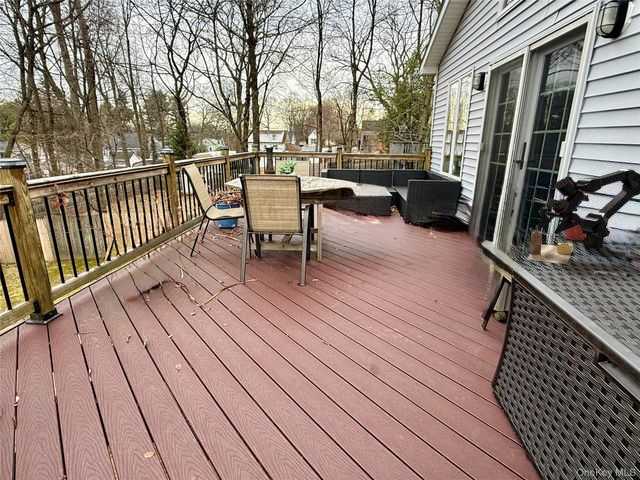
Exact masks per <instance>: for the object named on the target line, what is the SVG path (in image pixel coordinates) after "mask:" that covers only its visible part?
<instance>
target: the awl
mask: <svg viewBox="0 0 640 480" xmlns="http://www.w3.org/2000/svg"><path fill="white" fill-rule="evenodd" d="M538 225H539V224H538ZM538 225H535V230H534V231H532V232H531V234H530V235H531V236H530V254H533V255H540V254H541V245H542V241H543V240H542V239H543V237H542V236H543V232H541V231H540V230H538Z"/></svg>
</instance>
